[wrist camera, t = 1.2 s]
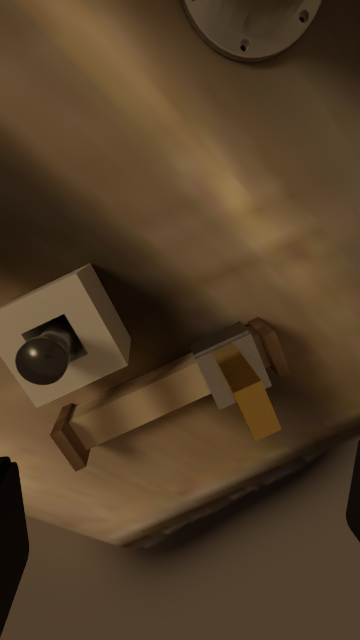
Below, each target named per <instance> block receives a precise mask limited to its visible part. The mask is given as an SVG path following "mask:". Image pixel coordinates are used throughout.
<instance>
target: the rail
mask: <svg viewBox="0 0 360 640" xmlns="http://www.w3.org/2000/svg"><path fill="white" fill-rule="evenodd" d="M248 323H249V325H250V326H248V327H246V328H247V329H248V330H249V332H250V333H251V335H252V338H253V340H254V343H255V345H256V347H257V350H258V352H259V355H260V357H261V360H262V362H263V365H264V367H265V369H266V368H268V367H271V368H272V369H273V371H274V372H275V373H276V374H277V375H278V376H279V377H280V378H282V377H284V376H286V375H288V374H291V372H290V369H289V367H288V364H287V361H286V359H285V356H284V353H283V350H282V348H281V345H280V342H279V340H278V337H277V334H276V332H275V331H274V330H273V329H272V328H270V327H269V326H268V325H267V324H266V323H264V322H263V321H262V320H261V319H259V318H258V317H257V318H255V319H253V320H251V321H249V322H248ZM209 394H211V391H210V389H209V387H208V385H207V383H206V381H205V379H204V377H203V375H202V373H201V371H200V368H199V366H198V364H197V362H196V360H195V358H194V355H193V353H192V352H191V353H189V354H187V355H185V356H183V357H181V358H178V359H176V360H174V361H172V362H170V363H168V364H165V365H163V366H161V367H159V368H157V369H155V370H152V371H150V372H148V373H146V374H144V375H142V376H139V377H137V378H135V379H133V380H131V381H129V382H126V383H124V384H122V385H120V386H118V387H116V388H113V389H111V390H109V391H107V392H105V393H103V394H100V395H98V396H96V397H94V398H92V399H90V400H87V401H85V402H83V403H81V404H79V405H77V406H73V404H72V403H71V404H69V405H67V406H65V407H63V408H62V410H61V412H60V414H59V416H58V418H57V421H56V423H55V425H54V427H53V430H52V432H51V434H50V436H51V438H52V439H53V440H54V442H55V443H56V445H57V446H58V447H59V449H60V450H61V452H62V453H63V454H64V456H65V457H66V459H67V460H68V462H69V463H70V464H71V466H72V467H73V469H74V470H75V471H78V470H80V469H82V468H84V467H86V465H87V461H88V457H89V452H90V449H91V448H93V447H95V446H97V445H99V444H102V443H104V442H106V441H108V440H110V439H113V438H115V437H117V436H119V435H121V434H123V433H126V432H128V431H130V430H132V429H134V428H137V427H139V426H141V425H143V424H145V423H147V422H150V421H152V420H154V419H156V418H158V417H161V416H163V415H165V414H167V413H169V412H172V411H174V410H176V409H178V408H180V407H182V406H185V405H187V404H189V403H191V402H193V401H196V400H198V399H200V398H202V397H204V396H207V395H209Z"/></svg>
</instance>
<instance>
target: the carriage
mask: <svg viewBox="0 0 360 640" xmlns="http://www.w3.org/2000/svg"><path fill="white" fill-rule="evenodd" d="M189 345H190V347H191V350H192V353H193V355H194V358H195V360H196V362H197V364H198V366H199V368H200V371H201V373H202V375H203V377H204V379H205V381H206V383H207V385H208V387H209V389H210V391H211V393H212V396H213V398H214V400H215V402H216V404H217V406H218V408H219V410H220V409H222V408H225V407H227V406H229V405H231V404H233V403H236V405H237V407H238V409H239V411H240V413H241V415H242V417H243V419H244V421H245V423H246V425H247V427H248V429H249V431H250V432H251V434H252V436H253V438H254V440H255V441H257V440H259V439H261V438H264V437H266V436H268V435H270V434H272V433H275V432H277V431H279V430H281V427H280V424H279V422H278V419H277V417H276V414H275V412H274V410H273V407H272V405H271V402H270V400H269V398H268V395H267V393H266V390H265V389H266V388H268V387H271V386H272V385H271V382H270V380H269V377H268V375H267V372H266V370H265V367H264V365H263V362H262V360H261V357H260V355H259V352H258V350H257V347H256V345H255V343H254V340H253V338H252V335H251V333H250V332H249V330H248V329H247V328H246V327H245V326H244V325H243V324H242V323H241V322H240V321H239V322H237V323H235V324H233V325H230V326H228V327H226V328H224V329H222V330H220V331H217V332H215V333H213V334H211V335H209V336H207V337H204V338H202V339H200V340H198V341H196V342H194V343H191V344H189Z"/></svg>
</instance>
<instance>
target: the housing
mask: <svg viewBox="0 0 360 640" xmlns="http://www.w3.org/2000/svg"><path fill="white" fill-rule="evenodd" d="M63 314H65V316H66V318H67V319H68V321H69V323H70V324H71V326H72V328H73V329H74V331H75V333H76V334H77V336H78V340H77V342H76V343H75V345H74V347H73V349H72V350H71V352H70V354H69V365H68V368H67V370H66V371H65V373H64V375H63V376H62V378H60V379H59V380H58V381H57V382H55V383H52V384H49V385H37V384H33V383H31V382H29V381H27V380H25V379H24V378H23V377H22V376H21V375H20V374H19V372H18V370H17V368H16V364H15V358H16V354H17V352H18V350H19V349H20V347H21V346H22V345H23V344H24V343H25V342H27V341H28V340H29V339H31V338H34V337H37V336H40V335H41V334H42V333H43V332H44V331H45V330H46V328H47V327H48V326H49V325H50V324H51V323H52V321H51V320H52V319H54V318H56V317H58V316H60V315H63ZM130 344H131V337H130V336H129V334H128V332H127V330H126V328H125V326H124V324H123V323H122V321H121V319H120V317H119V315H118V313H117V312H116V310H115V308H114V306H113V304H112V302H111V300H110V299H109V297H108V295H107V293H106V291H105V289H104V287H103V286H102V284H101V282H100V280H99V278H98V276H97V275H96V273H95V271H94V269H93V267H92V265H91V263H90V264H88V265H85V266H83V267H81V268H79V269H77V270H75V271H73V272H71V273H69V274H66V275H64V276H62V277H60V278H58V279H56V280H54V281H52V282H50V283H47V284H45V285H43V286H41V287H39V288H37V289H35V290H33V291H31V292H29V293H26V294H24V295H22V296H20V297H18V298H16V299H14V300H12V301H10V302H8V303H6V304H4V305H3V306H1V307H0V356H1V358H2V359H3V361H4V362H5V364H6V365H7V366H8V368H9V369H10V371H11V372H12V374H13V375H14V376H15V378H16V379H17V381H18V382H19V383H20V385H21V386H22V388H23V389H24V391H25V392H26V393H27V395H28V396H29V398H30V399H31V401H32V402H33V403H34V405H35V406H36V408H37V407H40V406H42V405H44V404H46V403H48V402H50V401H53V400H55V399H57V398H59V397H61V396H63V395H66V394H68V393H70V392H72V391H74V390H76V389H78V388H81V387H83V386H85V385H87V384H89V383H91V382H94V381H96V380H98V379H100V378H102V377H104V376H107V375H109V374H111V373H113V372H115V371H117V370H119V369H122V368H124V367H126V366H128V360H129V352H130Z"/></svg>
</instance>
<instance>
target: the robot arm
mask: <svg viewBox="0 0 360 640" xmlns="http://www.w3.org/2000/svg"><path fill="white" fill-rule="evenodd" d="M321 2H322V0H194V1H192V0H182V3H183V7H184V10H185V12H186V14H187V16H188V18H189V20H190V22H191V24H192V26H193V27H194V29H195V30H196V32H197V33H198V34H199V36H200V37H201V38H202V39H203V40H204V41H205V42H206V43H207V44H208V45H209V46H210V47H211V48H212V49H214V50H215V51H217V52H218V53H220V54H221V55H223V56H225V57H228V58H230V59H233V60H236V61H242V62H258V61H264V60H267V59H270V58H273V57H276V56H277V55H279V54H281V53H282V52H284V51H285V50H287V49H288V48H289V47H291V46H292V45H293V44H294V43H295V42H296V41H297V40H298V39H299V38H300V37H301V35H302V34H303V33H304V32H305V30H306V29H307V28H308V27H309V25H310V23H311V22H312V20H313V19H314V17H315V15H316V14H317V11H318V9H319V7H320V4H321ZM300 20H301V21H300ZM240 48H243V49H244V51H242V50H241V49H240ZM346 519H347V523H348V525H349V527H350V529H351V531H352V532H353V533H354V535H355V536H356V538H357V539H358V540H359V542H360V440H359V442H358V447H357V453H356V459H355V464H354V470H353V477H352V482H351V488H350V493H349V499H348V505H347V510H346ZM28 554H29V541H28V533H27V526H26V519H25V512H24V505H23V498H22V491H21V484H20V477H19V470H18V465H17V463H16V462H11V460H10V458H9V457H7V456H6V457H0V636H1V634H2V631H3V628H4V625H5V622H6V619H7V617H8V614H9V611H10V608H11V605H12V602H13V600H14V597H15V594H16V591H17V588H18V585H19V583H20V580H21V577H22V574H23V571H24V568H25V566H26V562H27V559H28Z"/></svg>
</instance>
